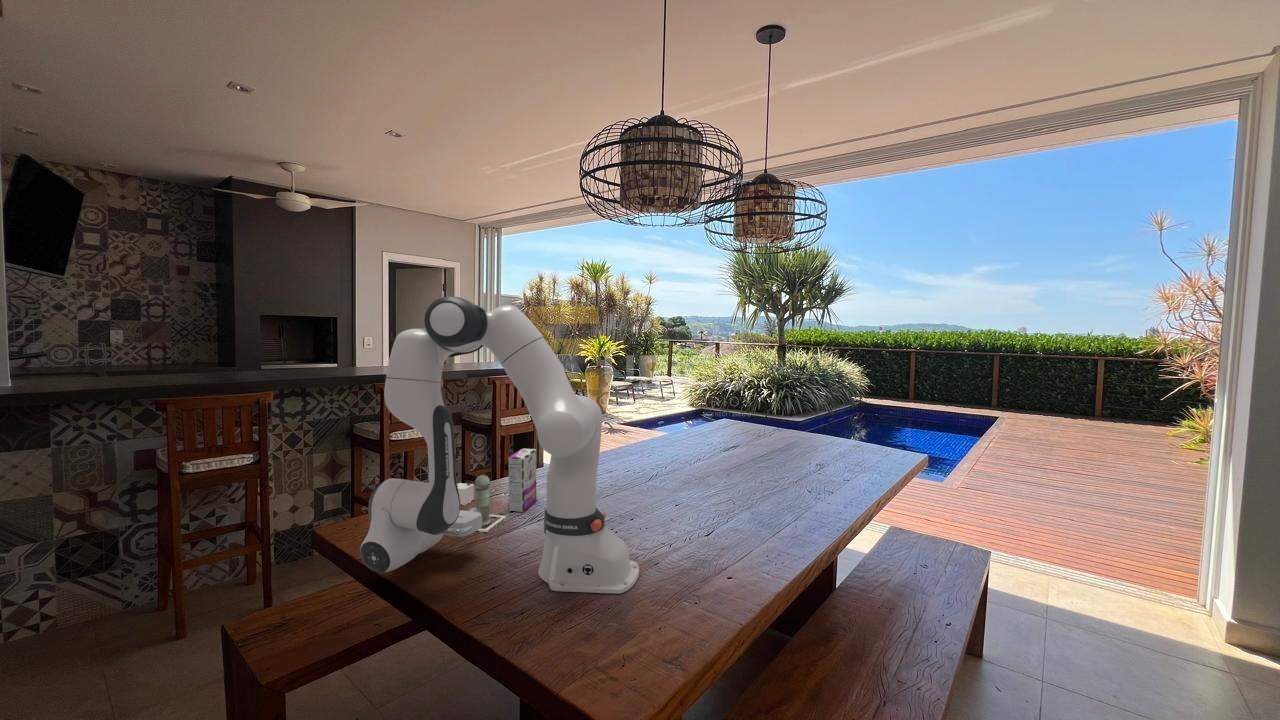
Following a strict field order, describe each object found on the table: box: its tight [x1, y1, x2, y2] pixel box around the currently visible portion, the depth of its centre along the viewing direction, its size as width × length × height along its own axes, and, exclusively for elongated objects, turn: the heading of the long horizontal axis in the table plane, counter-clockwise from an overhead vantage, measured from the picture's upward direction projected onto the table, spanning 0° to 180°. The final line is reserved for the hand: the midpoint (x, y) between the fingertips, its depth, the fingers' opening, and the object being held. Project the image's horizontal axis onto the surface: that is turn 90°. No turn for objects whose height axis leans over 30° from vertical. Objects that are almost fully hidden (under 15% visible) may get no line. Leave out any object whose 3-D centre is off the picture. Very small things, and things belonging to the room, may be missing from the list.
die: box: [457, 482, 475, 506], centre depth 166 cm, size 5×5×6 cm
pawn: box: [474, 474, 492, 527], centre depth 148 cm, size 4×4×14 cm
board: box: [477, 513, 507, 533], centre depth 149 cm, size 24×13×1 cm, turn 77°
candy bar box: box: [507, 447, 537, 513], centre depth 163 cm, size 11×5×16 cm, turn 171°
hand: (457, 508), depth 136 cm, fingers open, 8 cm apart
